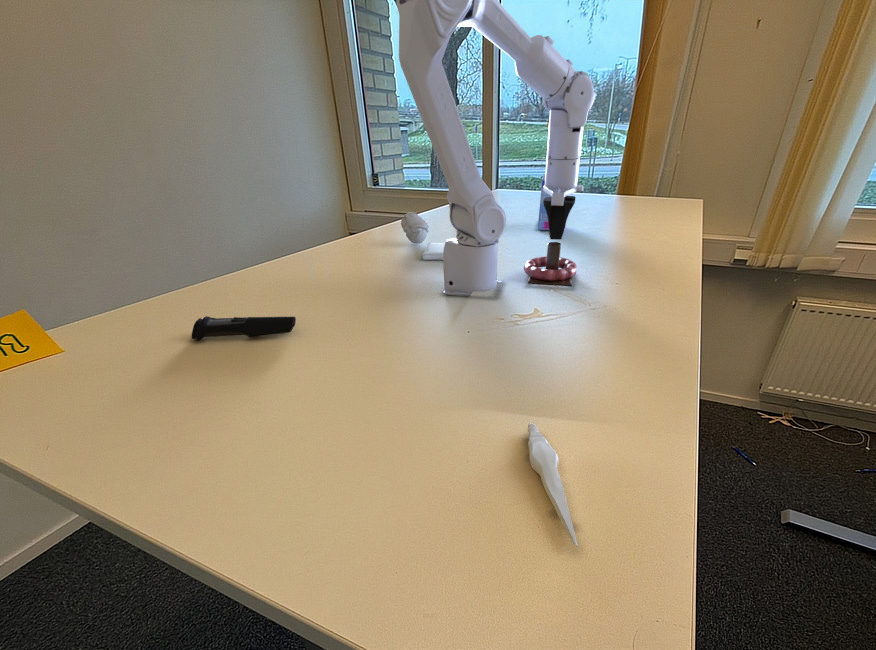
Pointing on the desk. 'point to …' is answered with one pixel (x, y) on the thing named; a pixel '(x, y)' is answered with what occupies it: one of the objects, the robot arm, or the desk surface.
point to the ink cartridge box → (543, 209)
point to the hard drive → (434, 251)
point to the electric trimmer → (242, 326)
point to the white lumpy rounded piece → (414, 227)
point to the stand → (552, 266)
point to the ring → (564, 273)
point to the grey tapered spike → (550, 476)
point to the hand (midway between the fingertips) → (555, 238)
